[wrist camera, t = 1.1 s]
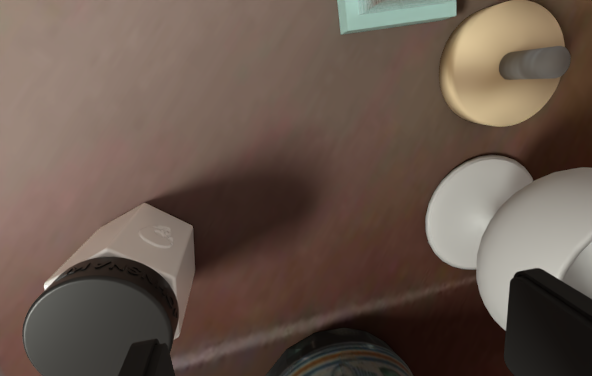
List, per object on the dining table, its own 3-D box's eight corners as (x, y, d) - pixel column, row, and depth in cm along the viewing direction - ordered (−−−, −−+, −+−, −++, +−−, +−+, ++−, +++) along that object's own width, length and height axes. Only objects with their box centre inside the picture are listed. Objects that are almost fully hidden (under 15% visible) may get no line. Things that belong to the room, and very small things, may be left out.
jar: (216, 233, 32) (204, 313, 21) (174, 304, 34) (141, 415, 22) (121, 187, 30) (48, 248, 19) (80, 265, 31) (-12, 366, 20)
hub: (437, 14, 30) (493, -7, 24) (544, -1, 31) (627, -25, 25) (440, 131, 33) (491, 142, 26) (538, 114, 34) (611, 121, 27)
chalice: (529, 269, 39) (697, 375, 25) (409, 280, 37) (515, 402, 23) (554, 142, 35) (768, 179, 21) (420, 146, 33) (557, 191, 19)
